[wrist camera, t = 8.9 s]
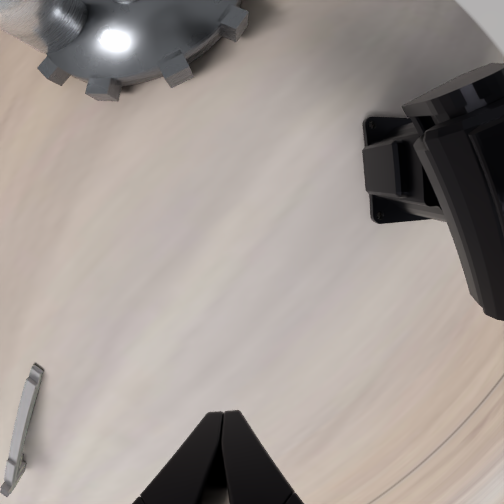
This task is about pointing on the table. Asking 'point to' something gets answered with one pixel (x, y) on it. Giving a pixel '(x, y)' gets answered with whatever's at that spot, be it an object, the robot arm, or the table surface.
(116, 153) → the table surface
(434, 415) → the table surface
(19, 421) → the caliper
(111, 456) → the table surface
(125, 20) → the sprocket
